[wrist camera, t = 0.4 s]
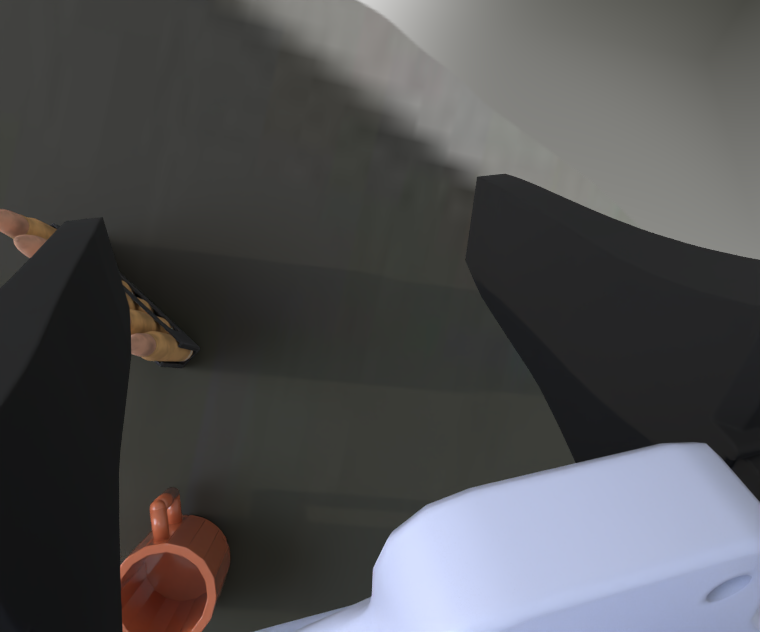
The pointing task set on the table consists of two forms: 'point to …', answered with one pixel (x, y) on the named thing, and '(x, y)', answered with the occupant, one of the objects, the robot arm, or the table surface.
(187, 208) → the table surface
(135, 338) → the ammunition clip
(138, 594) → the terracotta cup
